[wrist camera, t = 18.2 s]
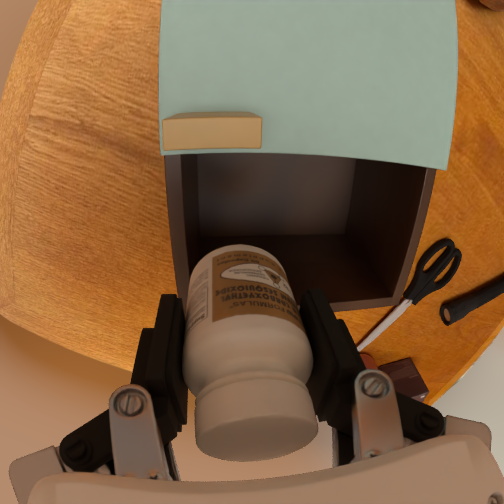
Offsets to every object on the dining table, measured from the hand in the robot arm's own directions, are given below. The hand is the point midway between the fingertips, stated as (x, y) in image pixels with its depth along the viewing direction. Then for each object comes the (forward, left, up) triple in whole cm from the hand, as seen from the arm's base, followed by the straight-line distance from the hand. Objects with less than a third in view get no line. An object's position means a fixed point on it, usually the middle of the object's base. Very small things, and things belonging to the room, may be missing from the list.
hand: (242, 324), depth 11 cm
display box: (+4, +2, -15) cm, 16 cm away
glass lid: (+4, +11, -5) cm, 13 cm away
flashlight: (+37, -13, -16) cm, 42 cm away
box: (+25, -28, -16) cm, 41 cm away
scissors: (+21, -13, -15) cm, 29 cm away
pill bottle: (0, 0, -3) cm, 3 cm away
